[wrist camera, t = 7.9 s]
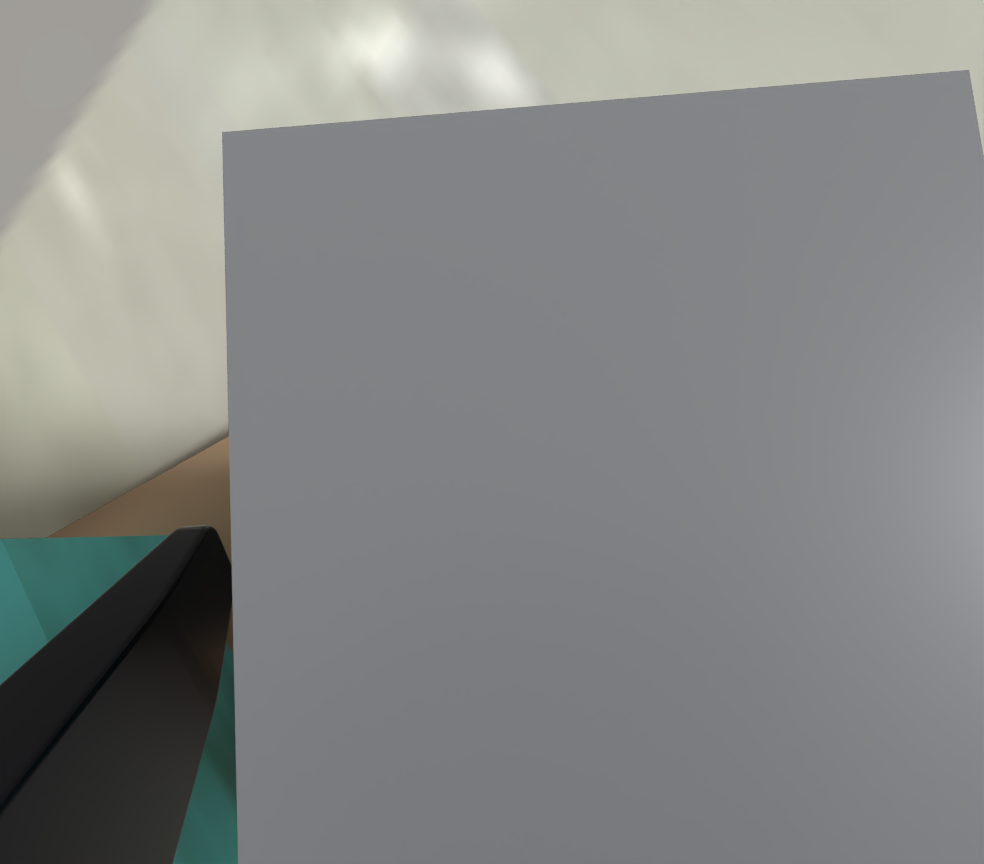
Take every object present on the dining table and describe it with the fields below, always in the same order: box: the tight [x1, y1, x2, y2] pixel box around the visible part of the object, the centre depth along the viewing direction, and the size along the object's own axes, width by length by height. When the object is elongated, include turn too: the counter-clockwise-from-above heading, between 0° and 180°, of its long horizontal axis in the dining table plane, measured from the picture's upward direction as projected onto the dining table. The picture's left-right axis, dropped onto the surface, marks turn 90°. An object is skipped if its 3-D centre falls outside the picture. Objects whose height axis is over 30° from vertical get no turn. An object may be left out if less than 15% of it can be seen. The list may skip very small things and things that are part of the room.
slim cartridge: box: [222, 70, 984, 864], centre depth 11 cm, size 4×4×14 cm
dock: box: [0, 437, 238, 864], centre depth 15 cm, size 11×18×7 cm, turn 119°
